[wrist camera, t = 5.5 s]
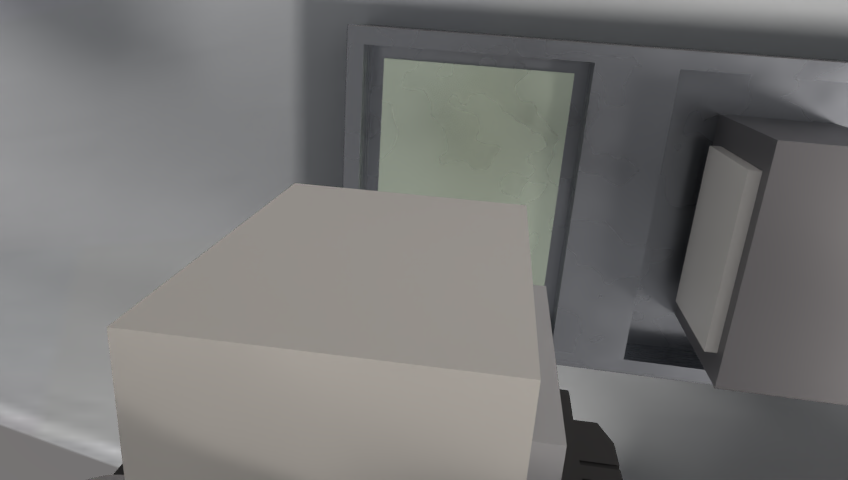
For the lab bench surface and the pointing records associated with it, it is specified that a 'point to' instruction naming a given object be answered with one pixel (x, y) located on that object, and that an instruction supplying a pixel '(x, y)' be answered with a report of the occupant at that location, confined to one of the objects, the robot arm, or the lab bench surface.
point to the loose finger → (346, 348)
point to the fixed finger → (771, 260)
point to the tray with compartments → (572, 160)
